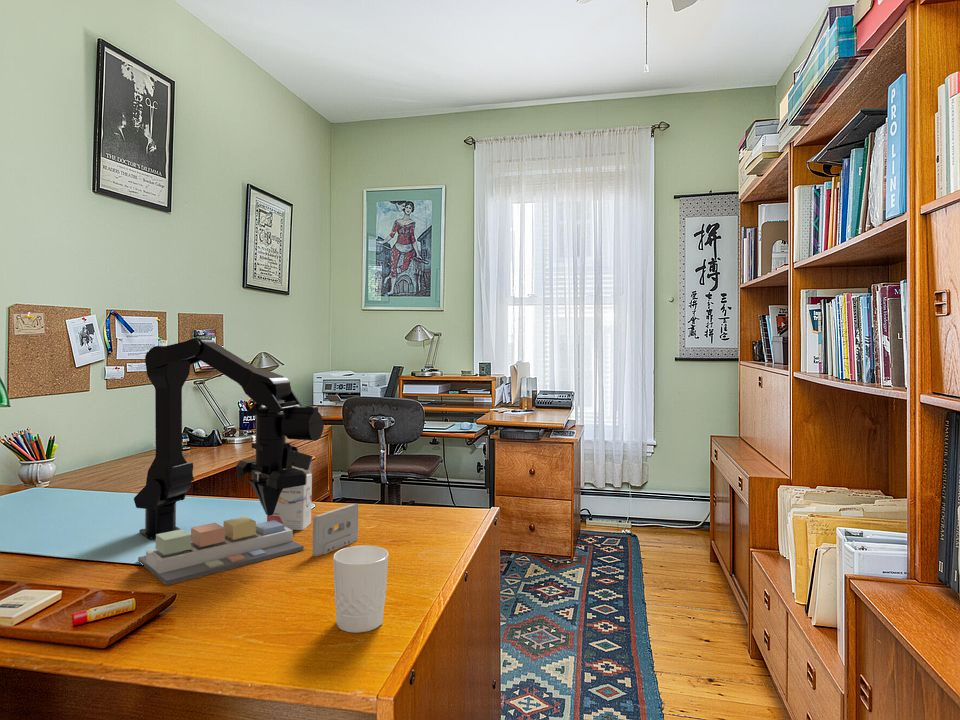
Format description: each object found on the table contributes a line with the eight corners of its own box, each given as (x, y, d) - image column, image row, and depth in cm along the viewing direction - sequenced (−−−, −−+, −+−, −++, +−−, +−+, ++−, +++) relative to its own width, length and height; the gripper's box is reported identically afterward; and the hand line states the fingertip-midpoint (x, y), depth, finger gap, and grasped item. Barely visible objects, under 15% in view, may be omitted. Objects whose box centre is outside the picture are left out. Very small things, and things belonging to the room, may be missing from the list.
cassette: (317, 557, 110) (317, 517, 110) (310, 555, 111) (310, 516, 111) (359, 540, 121) (360, 504, 121) (353, 538, 122) (353, 502, 122)
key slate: (253, 537, 117) (253, 524, 117) (273, 532, 120) (274, 520, 120) (263, 542, 114) (263, 529, 114) (284, 537, 117) (284, 524, 117)
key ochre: (223, 534, 112) (223, 520, 112) (245, 529, 115) (245, 516, 115) (233, 539, 109) (233, 526, 109) (255, 534, 112) (255, 521, 112)
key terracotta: (190, 541, 108) (191, 527, 108) (215, 536, 111) (215, 522, 111) (200, 547, 105) (200, 532, 105) (224, 541, 108) (224, 527, 108)
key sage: (155, 548, 104) (155, 534, 104) (181, 543, 107) (181, 529, 107) (164, 555, 101) (164, 540, 100) (190, 549, 104) (191, 534, 104)
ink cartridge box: (265, 528, 127) (266, 462, 127) (275, 522, 132) (276, 458, 132) (303, 530, 126) (304, 463, 126) (311, 524, 131) (312, 459, 131)
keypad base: (138, 561, 106) (138, 545, 106) (267, 532, 124) (267, 518, 124) (166, 585, 96) (166, 567, 96) (303, 550, 114) (303, 534, 114)
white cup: (337, 610, 88) (338, 545, 88) (389, 609, 89) (390, 545, 89) (327, 636, 80) (328, 564, 80) (385, 634, 81) (386, 563, 81)
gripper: (331, 439, 116) (329, 517, 116) (285, 429, 129) (284, 499, 129) (278, 445, 108) (277, 528, 108) (235, 434, 121) (234, 508, 121)
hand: (269, 515), depth 117 cm, fingers closed
